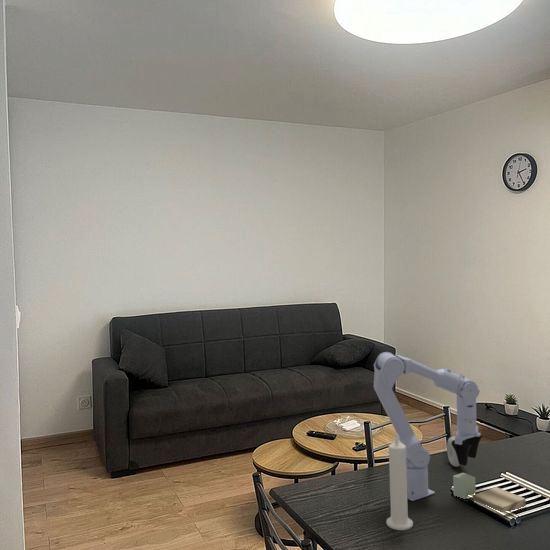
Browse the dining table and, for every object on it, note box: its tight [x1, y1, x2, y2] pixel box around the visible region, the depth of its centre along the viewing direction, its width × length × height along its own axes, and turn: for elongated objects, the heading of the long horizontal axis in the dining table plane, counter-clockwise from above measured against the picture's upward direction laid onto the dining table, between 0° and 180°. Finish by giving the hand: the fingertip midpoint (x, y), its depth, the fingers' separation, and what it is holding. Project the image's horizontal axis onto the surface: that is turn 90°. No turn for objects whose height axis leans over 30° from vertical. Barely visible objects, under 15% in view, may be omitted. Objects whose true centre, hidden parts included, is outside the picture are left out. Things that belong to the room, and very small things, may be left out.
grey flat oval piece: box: [446, 435, 461, 468], centre depth 195 cm, size 10×4×10 cm, turn 179°
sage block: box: [452, 472, 477, 500], centre depth 172 cm, size 4×4×6 cm
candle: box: [386, 433, 414, 531], centre depth 155 cm, size 7×7×25 cm
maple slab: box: [472, 486, 527, 512], centre depth 165 cm, size 10×10×3 cm
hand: (467, 460), depth 176 cm, fingers open, 7 cm apart
